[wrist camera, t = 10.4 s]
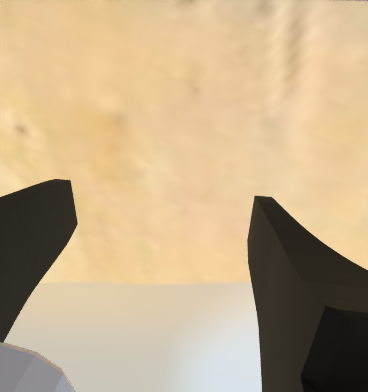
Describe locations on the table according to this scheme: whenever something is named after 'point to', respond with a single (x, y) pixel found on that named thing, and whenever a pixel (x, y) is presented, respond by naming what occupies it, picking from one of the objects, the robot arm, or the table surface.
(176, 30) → the table surface
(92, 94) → the table surface
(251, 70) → the table surface
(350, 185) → the table surface
